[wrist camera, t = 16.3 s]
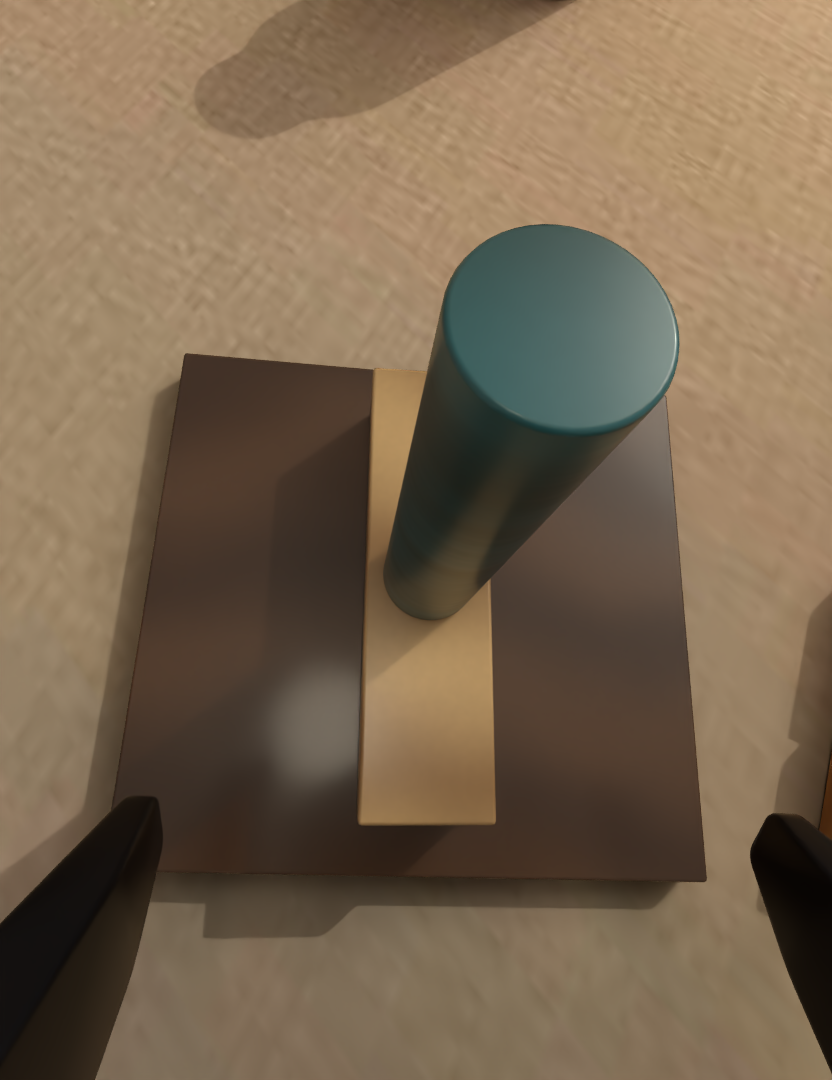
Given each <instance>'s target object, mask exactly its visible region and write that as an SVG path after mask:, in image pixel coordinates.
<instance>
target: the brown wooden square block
mask: <svg viewBox="0 0 832 1080" xmlns="http://www.w3.org/2000/svg"><path fill="white" fill-rule="evenodd" d="M819 830H820V831H821V832H822V833H823V834H825V835H826V836H827V837H828V838H830V839H831V840H832V753H831V760H830V766H829V772H828V779H827V785H826V791H825V797H824V804H823V810H822V816H821V822H820V829H819Z"/></svg>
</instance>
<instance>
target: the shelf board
mask: <svg viewBox="0 0 832 1080" xmlns="http://www.w3.org/2000/svg"><path fill="white" fill-rule="evenodd" d="M372 376H373V370H370V369H359V368H347V367H336V366H325V365H313V364H302V363H290V362H279V361H268V360H256V359H245V358H233V357H222V356H211V355H199V354H188V353H187V354H185V355H184V360H183V367H182V373H181V379H180V385H179V391H178V398H177V404H176V410H175V416H174V423H173V429H172V435H171V441H170V448H169V454H168V460H167V466H166V472H165V479H164V485H163V491H162V497H161V504H160V510H159V516H158V522H157V528H156V535H155V541H154V547H153V553H152V560H151V566H150V572H149V578H148V584H147V591H146V597H145V603H144V609H143V616H142V622H141V628H140V634H139V641H138V647H137V653H136V659H135V665H134V672H133V678H132V684H131V690H130V697H129V703H128V709H127V715H126V721H125V728H124V734H123V740H122V746H121V753H120V759H119V765H118V771H117V777H116V784H115V790H114V796H113V802H112V809H111V811H112V810H113V808H114V807H115V806H116V805H117V804H118V803H119V802H120V801H121V800H123V799H124V798H125V797H127V796H131V795H139V796H155V797H156V798H157V799H158V801H159V806H160V813H161V821H162V828H163V846H162V852H161V856H160V861H159V865H158V869H157V872H174V873H229V874H284V875H339V876H394V877H449V878H504V879H559V880H614V881H669V882H705V881H706V880H707V877H706V865H705V853H704V841H703V829H702V817H701V805H700V793H699V781H698V769H697V758H696V746H695V734H694V722H693V710H692V698H691V686H690V674H689V662H688V650H687V638H686V627H685V615H684V603H683V591H682V579H681V567H680V555H679V543H678V531H677V519H676V508H675V496H674V484H673V472H672V460H671V448H670V436H669V424H668V412H667V400H666V396H665V395H664V396H663V398H662V399H661V400H660V402H659V403H658V404H657V405H656V406H655V407H654V408H653V410H652V411H651V412H650V413H649V414H648V415H647V416H646V417H645V418H644V419H643V420H642V421H641V422H640V423H639V424H638V425H637V426H636V427H635V428H634V429H633V430H632V431H631V432H630V434H629V435H628V436H627V437H626V438H625V439H624V440H623V441H622V442H621V443H620V444H619V445H618V446H617V447H616V448H615V449H614V450H613V451H612V452H611V453H610V454H609V455H608V456H607V457H606V459H605V460H604V461H603V462H602V463H601V464H600V465H599V466H598V467H597V468H596V469H595V470H594V471H593V472H592V473H591V474H590V475H589V476H588V477H587V478H586V479H585V480H584V481H583V482H582V484H581V485H580V486H579V487H578V488H577V489H576V490H575V491H574V492H573V493H572V494H571V495H570V496H569V497H568V498H567V499H566V500H565V501H564V502H563V503H562V504H561V505H560V506H559V507H558V509H557V510H556V511H555V512H554V513H553V514H552V515H551V516H550V517H549V518H548V519H547V520H546V521H545V522H544V523H543V524H542V525H541V526H540V527H539V528H538V529H537V530H536V531H535V532H534V534H533V535H532V536H531V537H530V538H529V539H528V540H527V541H526V542H525V543H524V544H523V545H522V546H521V547H520V548H519V549H518V550H517V551H516V552H515V553H514V554H513V555H512V556H511V558H510V559H509V560H508V561H507V562H506V563H505V564H504V565H503V566H502V567H501V568H500V569H499V570H498V571H497V572H496V573H495V574H494V575H493V576H492V577H491V621H492V666H493V710H494V755H495V799H496V822H495V824H493V825H425V826H361V825H359V824H358V821H357V812H356V795H357V767H358V738H359V709H360V681H361V652H362V624H363V595H364V567H365V538H366V509H367V481H368V452H369V424H370V405H371V391H372Z"/></svg>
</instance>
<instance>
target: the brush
mask: <svg viewBox="0 0 832 1080" xmlns="http://www.w3.org/2000/svg"><path fill="white" fill-rule="evenodd" d="M678 354H679V331H678V326H677V320H676V317H675V314H674V311H673V308H672V305H671V303H670V301H669V299H668V297H667V295H666V293H665V291H664V289H663V288H662V286H661V285H660V283H659V282H658V280H657V279H656V278H655V277H654V275H653V274H652V273H651V272H650V271H649V269H648V268H647V267H646V266H645V265H643V264H642V263H641V262H640V261H639V260H638V259H637V258H636V257H635V256H633V255H632V254H631V253H629V252H628V251H627V250H625V249H624V248H622V247H621V246H619V245H617V244H616V243H614V242H612V241H610V240H608V239H606V238H604V237H602V236H600V235H597V234H595V233H592V232H589V231H586V230H582V229H579V228H575V227H570V226H563V225H550V224H540V225H528V226H523V227H518V228H514V229H511V230H508V231H505V232H502V233H500V234H498V235H496V236H493V237H491V238H489V239H488V240H486V241H485V242H483V243H482V244H480V245H479V246H478V247H476V248H475V249H474V250H473V251H472V252H471V253H470V254H469V255H468V256H466V257H465V259H464V260H463V261H462V262H461V263H460V265H459V266H458V267H457V268H456V270H455V272H454V273H453V275H452V277H451V278H450V281H449V283H448V286H447V288H446V291H445V294H444V299H443V303H442V307H441V312H440V316H439V321H438V325H437V330H436V334H435V339H434V343H433V348H432V352H431V357H430V361H429V366H428V370H427V371H411V370H396V369H381V368H376V369H374V370H373V376H372V391H371V405H370V424H369V452H368V481H367V509H366V538H365V567H364V595H363V624H362V652H361V681H360V709H359V738H358V767H357V795H356V812H357V821H358V824H359V825H361V826H425V825H493V824H495V822H496V799H495V755H494V710H493V666H492V621H491V577H492V576H493V575H494V574H495V573H496V572H497V571H498V570H499V569H500V568H501V567H502V566H503V565H504V564H505V563H506V562H507V561H508V560H509V559H510V558H511V556H512V555H513V554H514V553H515V552H516V551H517V550H518V549H519V548H520V547H521V546H522V545H523V544H524V543H525V542H526V541H527V540H528V539H529V538H530V537H531V536H532V535H533V534H534V532H535V531H536V530H537V529H538V528H539V527H540V526H541V525H542V524H543V523H544V522H545V521H546V520H547V519H548V518H549V517H550V516H551V515H552V514H553V513H554V512H555V511H556V510H557V509H558V507H559V506H560V505H561V504H562V503H563V502H564V501H565V500H566V499H567V498H568V497H569V496H570V495H571V494H572V493H573V492H574V491H575V490H576V489H577V488H578V487H579V486H580V485H581V484H582V482H583V481H584V480H585V479H586V478H587V477H588V476H589V475H590V474H591V473H592V472H593V471H594V470H595V469H596V468H597V467H598V466H599V465H600V464H601V463H602V462H603V461H604V460H605V459H606V457H607V456H608V455H609V454H610V453H611V452H612V451H613V450H614V449H615V448H616V447H617V446H618V445H619V444H620V443H621V442H622V441H623V440H624V439H625V438H626V437H627V436H628V435H629V434H630V432H631V431H632V430H633V429H634V428H635V427H636V426H637V425H638V424H639V423H640V422H641V421H642V420H643V419H644V418H645V417H646V416H647V415H648V414H649V413H650V412H651V411H652V410H653V408H654V407H655V406H656V405H657V404H658V403H659V402H660V400H661V399H662V398H663V396H664V395H665V393H666V391H667V390H668V388H669V386H670V384H671V382H672V379H673V377H674V374H675V370H676V366H677V362H678Z"/></svg>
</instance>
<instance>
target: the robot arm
mask: <svg viewBox="0 0 832 1080" xmlns="http://www.w3.org/2000/svg"><path fill="white" fill-rule="evenodd" d="M162 846H163V828H162V821H161V813H160V806H159V801H158V799H157V798H156V797H155V796H139V795H131V796H127V797H125V798H124V799H123V800H121V801H120V802H119V803H118V804H117V805H116V806H115V807H114V808H113V810H112V811H111V812H110V813H109V814H108V815H107V816H106V817H105V818H104V819H103V820H102V821H101V822H100V823H99V824H98V825H97V826H96V827H95V828H94V829H93V830H92V831H91V832H90V833H89V834H88V835H87V836H86V837H85V838H84V839H83V840H82V841H81V842H80V843H79V844H78V845H77V846H76V847H75V848H74V849H73V850H72V851H71V852H70V853H69V854H68V855H67V856H66V857H65V858H64V859H63V860H62V861H61V862H60V863H59V864H58V865H57V866H56V867H55V868H54V869H53V870H52V871H51V872H50V873H49V874H48V875H47V876H46V877H45V878H44V879H43V881H42V882H41V883H40V884H39V885H38V886H37V887H36V888H35V889H34V890H33V891H32V892H31V893H30V894H29V895H28V896H27V897H26V898H25V899H24V900H23V901H22V902H21V903H20V904H19V905H18V906H17V907H16V908H15V909H14V910H13V911H12V912H11V913H10V914H9V915H8V916H7V917H6V918H5V919H4V920H3V921H2V922H1V923H0V1080H95V1078H96V1075H97V1072H98V1070H99V1067H100V1064H101V1061H102V1058H103V1055H104V1052H105V1050H106V1047H107V1044H108V1041H109V1038H110V1035H111V1032H112V1030H113V1027H114V1024H115V1021H116V1018H117V1015H118V1012H119V1010H120V1007H121V1004H122V1001H123V998H124V995H125V992H126V990H127V986H128V983H129V980H130V977H131V974H132V971H133V967H134V964H135V960H136V956H137V952H138V948H139V944H140V940H141V936H142V931H143V927H144V923H145V919H146V915H147V911H148V906H149V902H150V898H151V894H152V890H153V886H154V881H155V877H156V873H157V869H158V865H159V861H160V856H161V852H162ZM750 859H751V864H752V868H753V871H754V874H755V877H756V880H757V882H758V885H759V888H760V891H761V894H762V897H763V900H764V903H765V906H766V909H767V912H768V915H769V918H770V921H771V924H772V927H773V930H774V933H775V936H776V939H777V942H778V945H779V948H780V951H781V954H782V957H783V960H784V962H785V965H786V968H787V971H788V973H789V976H790V978H791V980H792V983H793V985H794V988H795V990H796V993H797V995H798V997H799V999H800V1002H801V1004H802V1006H803V1009H804V1011H805V1013H806V1015H807V1018H808V1020H809V1022H810V1025H811V1027H812V1029H813V1032H814V1034H815V1036H816V1038H817V1041H818V1043H819V1045H820V1048H821V1050H822V1052H823V1054H824V1057H825V1059H826V1061H827V1064H828V1066H829V1068H830V1071H831V1073H832V840H831V839H830V838H828V837H827V836H826V835H825V834H823V833H822V832H821V831H820V830H818V829H817V828H816V827H815V826H813V825H812V824H811V823H809V822H808V821H807V820H806V819H804V818H803V817H801V816H799V815H796V814H785V813H773V814H771V815H769V816H768V817H767V818H766V819H765V821H764V823H763V825H762V827H761V829H760V831H759V833H758V835H757V837H756V838H755V840H754V842H753V844H752V846H751V851H750Z"/></svg>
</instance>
